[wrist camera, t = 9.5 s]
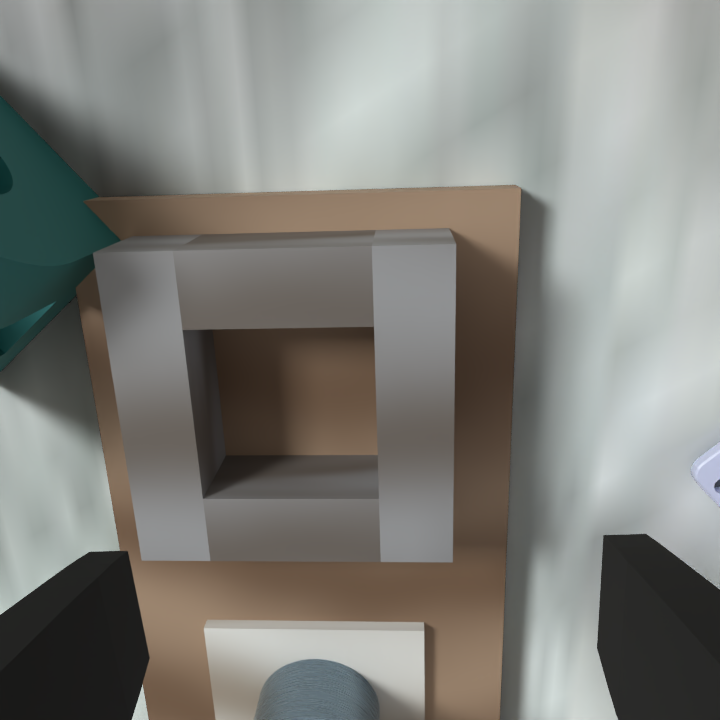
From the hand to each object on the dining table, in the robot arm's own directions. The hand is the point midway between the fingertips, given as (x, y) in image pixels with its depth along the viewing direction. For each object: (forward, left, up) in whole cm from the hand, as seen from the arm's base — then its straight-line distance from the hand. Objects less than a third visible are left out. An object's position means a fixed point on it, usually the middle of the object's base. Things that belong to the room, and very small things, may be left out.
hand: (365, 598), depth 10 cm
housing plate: (-3, +6, -10) cm, 12 cm away
